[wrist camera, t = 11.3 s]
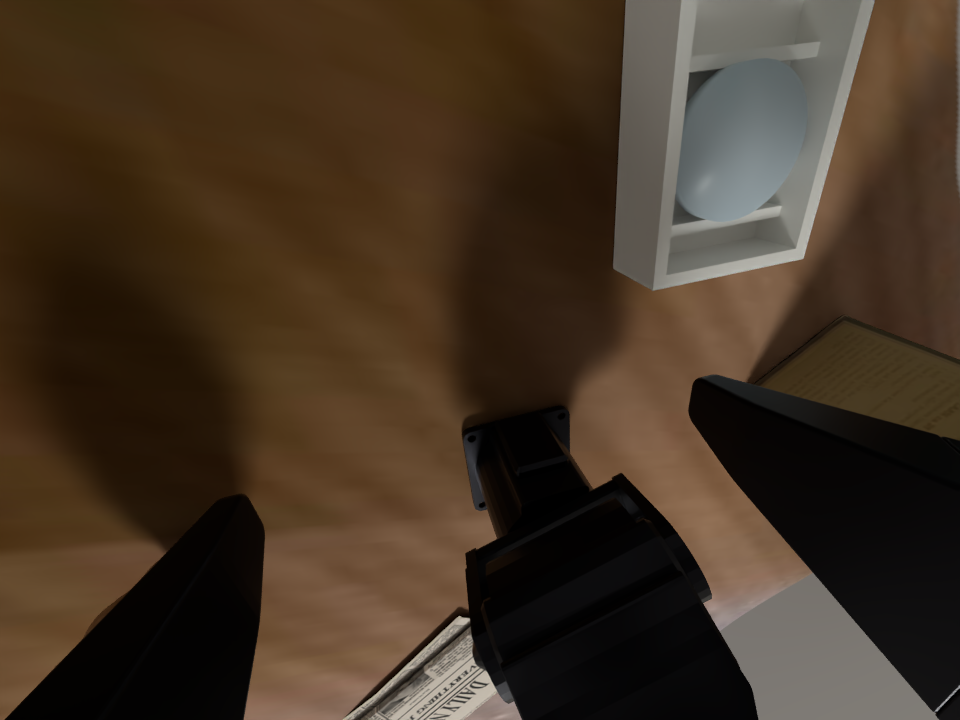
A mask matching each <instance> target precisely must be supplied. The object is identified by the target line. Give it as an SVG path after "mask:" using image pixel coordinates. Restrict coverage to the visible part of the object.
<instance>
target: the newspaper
mask: <svg viewBox="0 0 960 720" xmlns="http://www.w3.org/2000/svg"><path fill="white" fill-rule="evenodd" d="M469 626H470V618H463V617H461V616H458V617H457V618H456V619H455V620H454V621H453V622H452V623H451V624H450V625H449V626H448V627H447V628H445V629H444V630H443V631H442V632H441V633H440V634H439V635H438V636H437V637H436V638H435V639H434V640H433V641H432V642H431V643H430V644H428V645H427V646H426V647H425V648H424V649H423V650H422V651H421V652H420V653H419V654H418V655H417V656H416V657H415V658H414V659H413V660H412V661H410V662H409V663H408V664H407V665H406V666H405V667H404V668H403V669H402V670H401V671H400V672H399V673H398V674H397V675H396V676H395V677H393V678H392V679H391V680H390V681H389V682H388V683H387V684H386V685H385V686H384V687H383V688H382V689H381V690H380V691H379V692H378V693H377V694H375V695H374V696H373V697H372V698H370V699H369V700H368V701H366V702H365V703H364V704H362V705H361V706H360V707H358V708H357V709H356V710H354V711H353V712H352V713H350V714H349V715H348V716H347V717H345V718H344V719H343V720H464V719H465V718H466V717H467V716H469V715H470V714H471V713H472V712H474V711H475V710H476V709H477V708H479V707H480V706H481V705H482V704H484V703H485V702H486V701H487V700H489V699H490V698H491V697H492V696H494V695H495V694H496V693H497V690H496V688H495V687H494V685H493V683H492V681H491V679H490V677H489V675H488V673H487V672H486V671H485V670H483V669H481V668H479V667H478V666H477V665H476V663H475V661H474V658H473V655H472V647H473V639H472V635H471V627H470V628H468V627H469ZM467 628H468V629H467ZM466 629H467V630H466ZM465 630H466V631H465ZM463 631H465V632H464V633H463V634H461V633H462V632H463ZM460 634H461V635H460ZM459 635H460V636H459ZM458 636H459V637H458ZM457 637H458V638H457ZM456 638H457V639H456ZM454 639H456V640H454ZM453 640H454V641H453ZM452 641H453V642H452ZM451 642H452V643H451ZM450 643H451V644H450ZM449 644H450V645H449ZM448 645H449V646H448ZM445 647H446V648H445ZM444 648H445V649H444ZM443 649H444V650H443ZM442 650H443V651H442ZM441 651H442V652H441ZM436 655H437V656H436ZM435 656H436V657H435ZM434 657H435V658H434ZM427 663H428V664H427ZM413 675H414V676H413ZM407 680H408V681H407ZM406 681H407V682H406ZM400 686H401V687H400ZM399 687H400V688H399ZM394 691H395V692H394ZM393 692H394V693H393ZM392 693H393V694H392Z"/></svg>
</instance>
